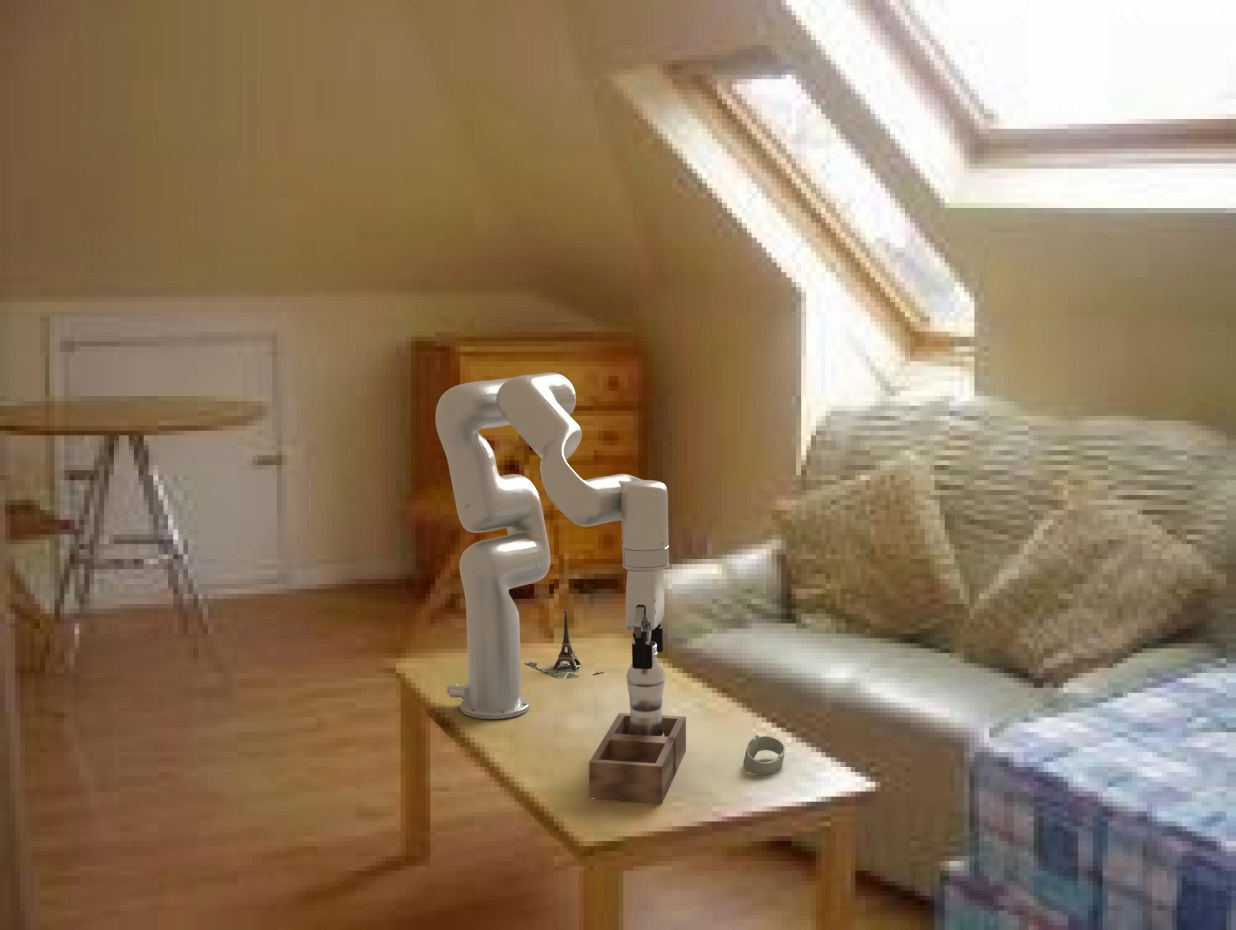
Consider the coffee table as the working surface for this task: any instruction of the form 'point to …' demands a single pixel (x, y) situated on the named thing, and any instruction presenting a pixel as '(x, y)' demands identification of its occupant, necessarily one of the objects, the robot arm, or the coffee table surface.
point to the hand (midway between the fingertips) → (648, 659)
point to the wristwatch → (759, 745)
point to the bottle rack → (637, 762)
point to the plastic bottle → (646, 698)
